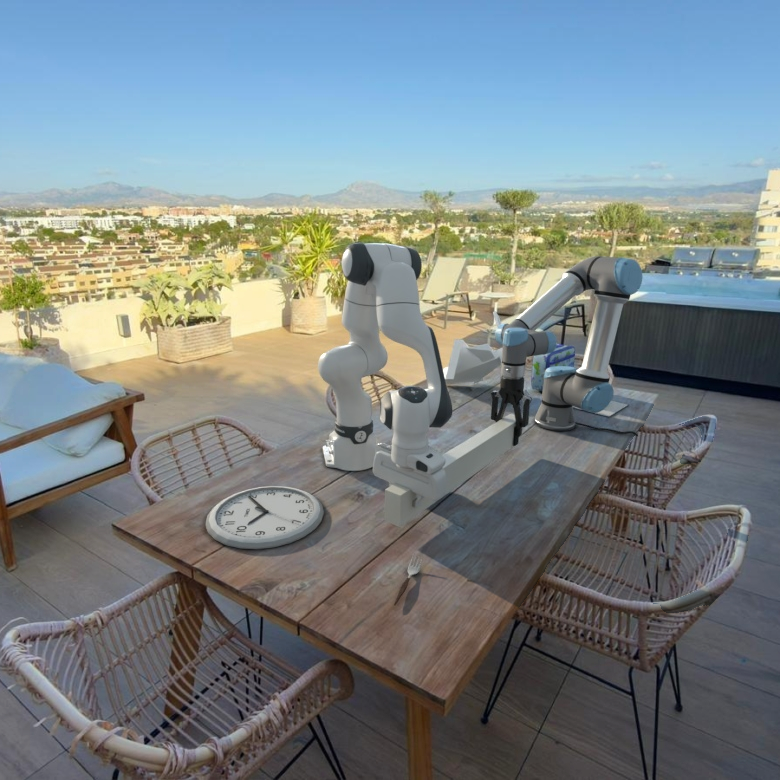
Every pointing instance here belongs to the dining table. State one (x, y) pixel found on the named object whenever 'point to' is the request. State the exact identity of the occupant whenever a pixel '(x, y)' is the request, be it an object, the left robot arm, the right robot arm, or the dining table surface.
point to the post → (454, 468)
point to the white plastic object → (473, 362)
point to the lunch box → (551, 363)
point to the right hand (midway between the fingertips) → (507, 442)
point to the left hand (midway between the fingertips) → (406, 502)
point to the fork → (412, 571)
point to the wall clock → (264, 517)
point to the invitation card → (610, 408)
